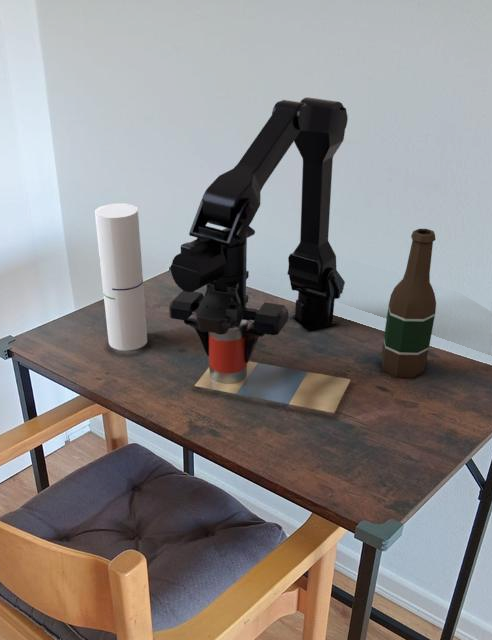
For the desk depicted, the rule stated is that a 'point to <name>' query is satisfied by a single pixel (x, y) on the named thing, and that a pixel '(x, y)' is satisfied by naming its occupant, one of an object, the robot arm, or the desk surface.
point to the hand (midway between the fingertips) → (228, 358)
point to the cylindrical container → (122, 275)
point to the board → (285, 386)
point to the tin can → (228, 355)
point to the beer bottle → (411, 312)
